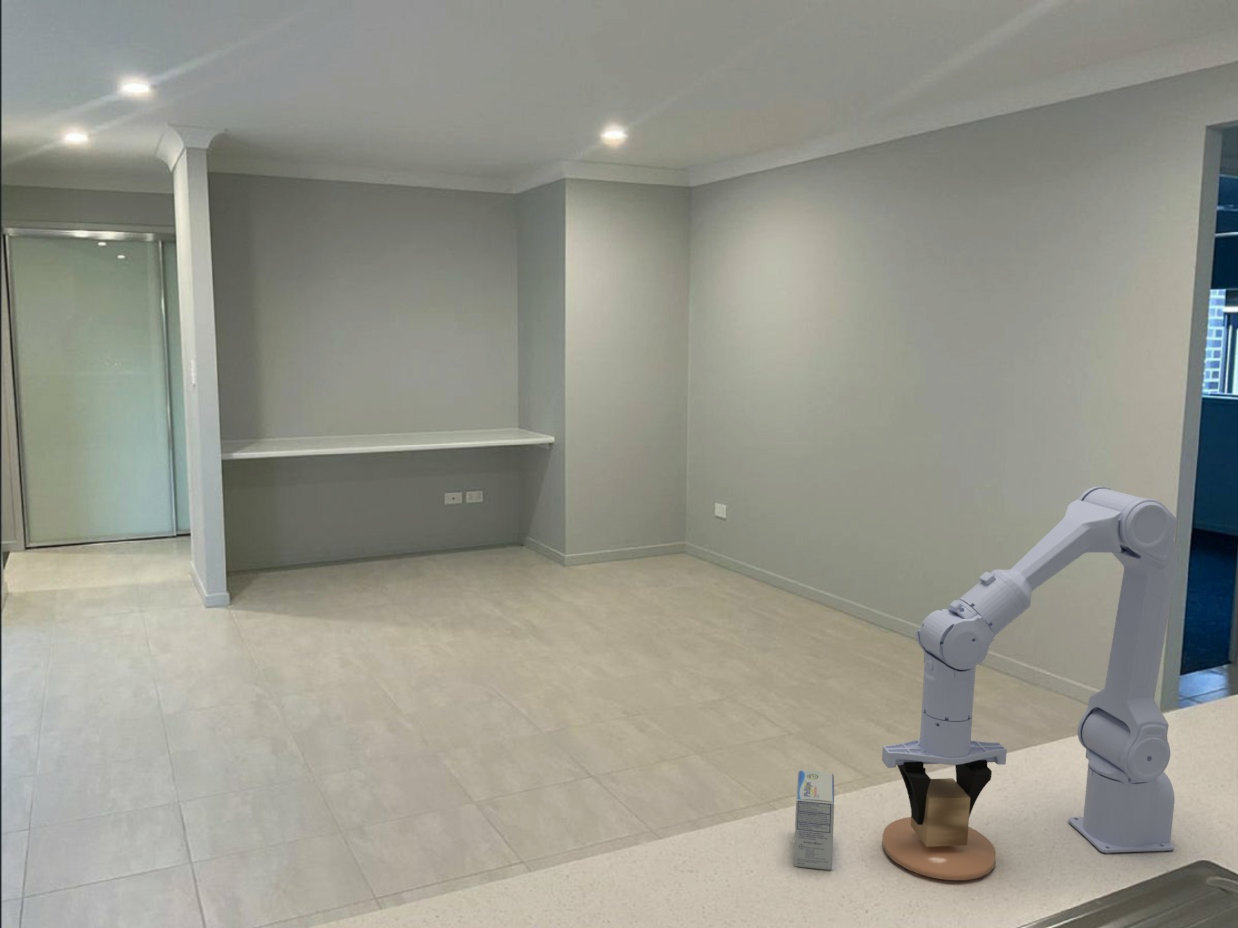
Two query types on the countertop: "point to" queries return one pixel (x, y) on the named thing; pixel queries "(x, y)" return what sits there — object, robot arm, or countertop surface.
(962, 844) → the oak block
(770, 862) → the countertop surface
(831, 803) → the medicine box
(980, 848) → the peach round disc
